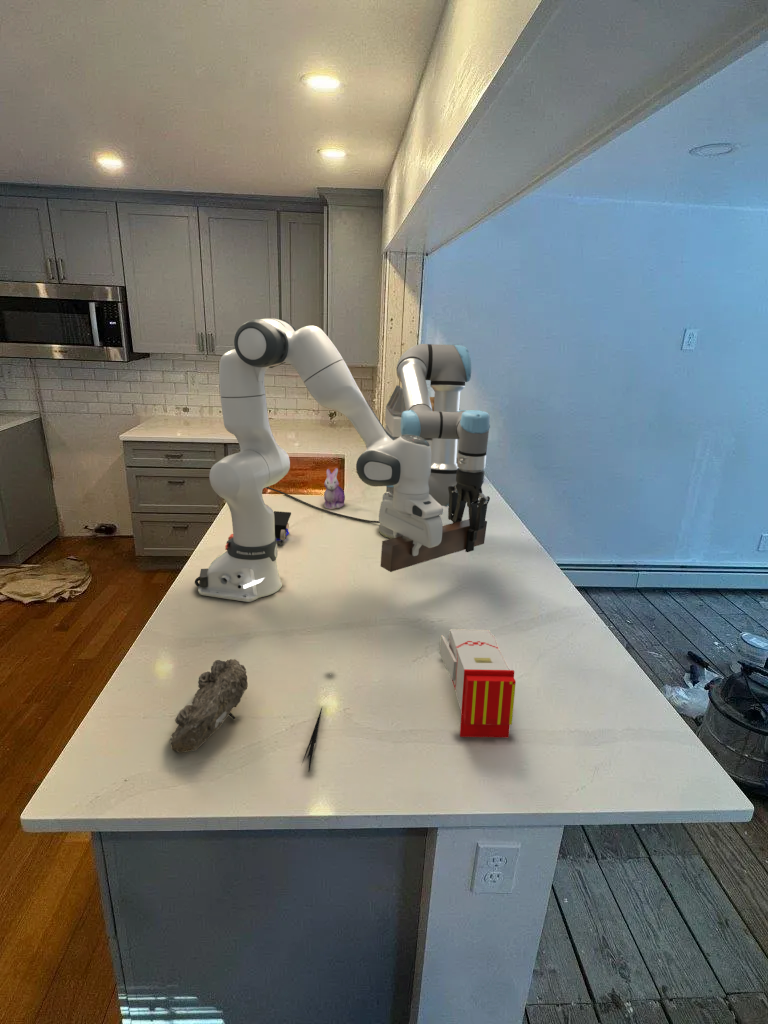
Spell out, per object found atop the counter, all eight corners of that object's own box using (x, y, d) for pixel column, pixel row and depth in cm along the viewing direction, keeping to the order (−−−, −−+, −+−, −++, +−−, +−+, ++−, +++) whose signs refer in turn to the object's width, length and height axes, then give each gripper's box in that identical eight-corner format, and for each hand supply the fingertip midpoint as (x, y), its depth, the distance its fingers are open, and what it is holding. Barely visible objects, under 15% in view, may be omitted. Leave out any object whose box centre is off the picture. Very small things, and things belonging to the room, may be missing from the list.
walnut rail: (390, 572, 141) (392, 546, 139) (380, 566, 144) (382, 540, 142) (484, 543, 164) (487, 521, 162) (473, 539, 167) (476, 516, 164)
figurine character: (286, 550, 185) (292, 529, 198) (285, 530, 182) (291, 509, 195) (265, 550, 185) (273, 528, 198) (264, 529, 181) (272, 509, 195)
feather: (331, 679, 122) (336, 673, 122) (307, 777, 96) (313, 769, 95) (324, 675, 122) (329, 669, 121) (298, 772, 95) (304, 764, 95)
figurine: (327, 510, 218) (328, 473, 213) (318, 502, 227) (318, 466, 222) (350, 508, 223) (351, 471, 218) (339, 500, 231) (340, 464, 226)
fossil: (195, 660, 117) (247, 628, 112) (227, 691, 120) (279, 661, 115) (146, 746, 98) (206, 711, 93) (185, 779, 101) (245, 748, 96)
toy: (489, 613, 130) (525, 677, 101) (485, 667, 133) (518, 744, 104) (437, 612, 130) (457, 676, 101) (434, 666, 133) (453, 743, 103)
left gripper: (374, 491, 147) (371, 540, 151) (429, 514, 132) (425, 568, 137) (392, 487, 151) (389, 535, 155) (448, 509, 136) (443, 562, 141)
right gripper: (438, 463, 157) (432, 541, 165) (485, 478, 145) (477, 561, 153) (457, 460, 162) (450, 535, 170) (504, 474, 149) (495, 555, 157)
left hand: (406, 551), depth 146 cm, fingers closed on walnut rail, 4 cm apart
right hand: (463, 547), depth 161 cm, fingers closed on walnut rail, 4 cm apart
